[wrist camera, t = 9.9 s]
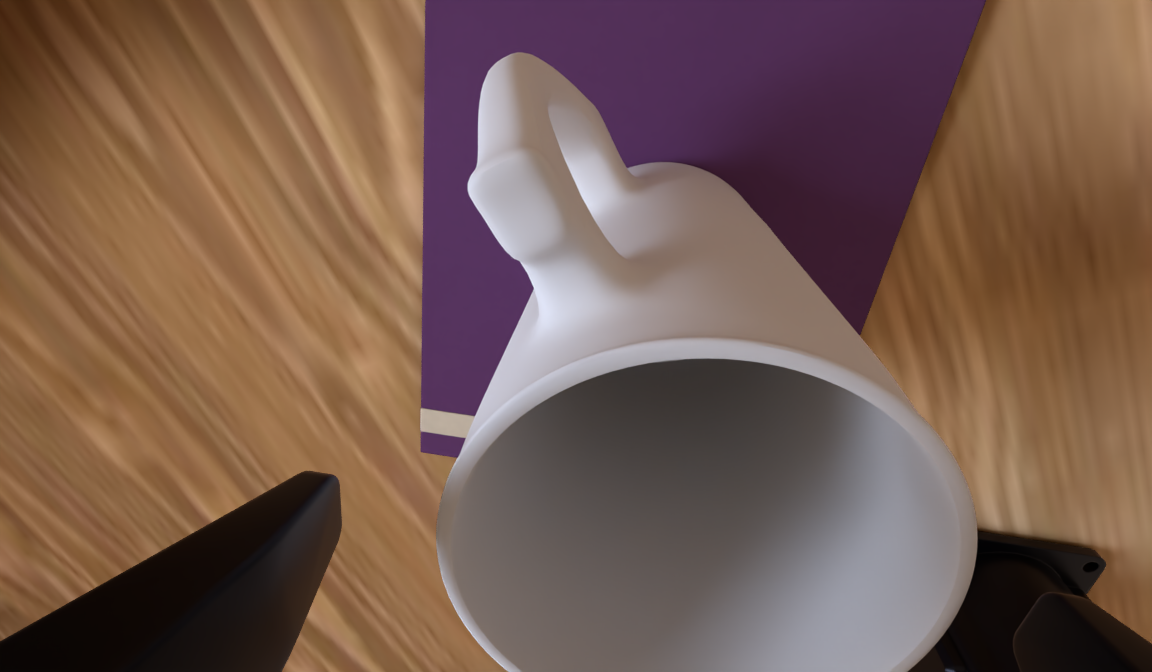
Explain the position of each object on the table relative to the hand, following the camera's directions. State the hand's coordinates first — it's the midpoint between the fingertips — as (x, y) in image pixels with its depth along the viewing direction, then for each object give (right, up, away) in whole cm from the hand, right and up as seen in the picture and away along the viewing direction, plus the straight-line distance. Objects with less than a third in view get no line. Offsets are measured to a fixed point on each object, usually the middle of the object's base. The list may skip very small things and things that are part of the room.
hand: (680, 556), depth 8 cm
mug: (0, +6, +10) cm, 12 cm away
